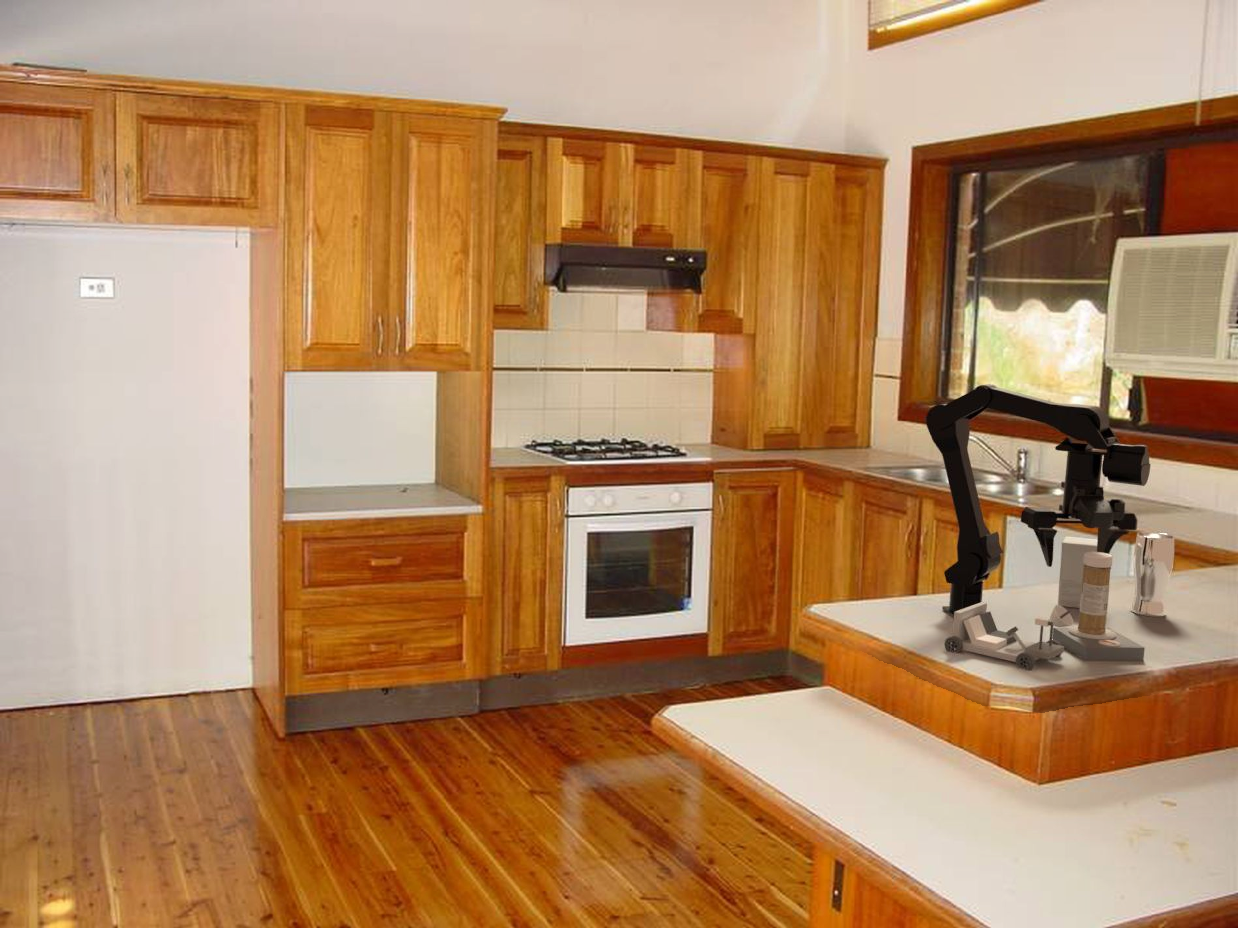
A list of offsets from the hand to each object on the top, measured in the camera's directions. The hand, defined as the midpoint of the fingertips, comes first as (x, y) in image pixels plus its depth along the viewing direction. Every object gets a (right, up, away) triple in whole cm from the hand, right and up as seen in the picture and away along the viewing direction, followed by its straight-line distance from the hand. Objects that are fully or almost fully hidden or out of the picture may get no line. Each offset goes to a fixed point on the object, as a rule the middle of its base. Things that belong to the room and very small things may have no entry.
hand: (1074, 566), depth 219 cm
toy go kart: (-15, -14, -13) cm, 25 cm away
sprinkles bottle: (0, -11, -7) cm, 12 cm away
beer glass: (+21, -10, +19) cm, 30 cm away
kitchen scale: (+1, -13, -8) cm, 16 cm away
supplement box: (+9, -9, +24) cm, 27 cm away
